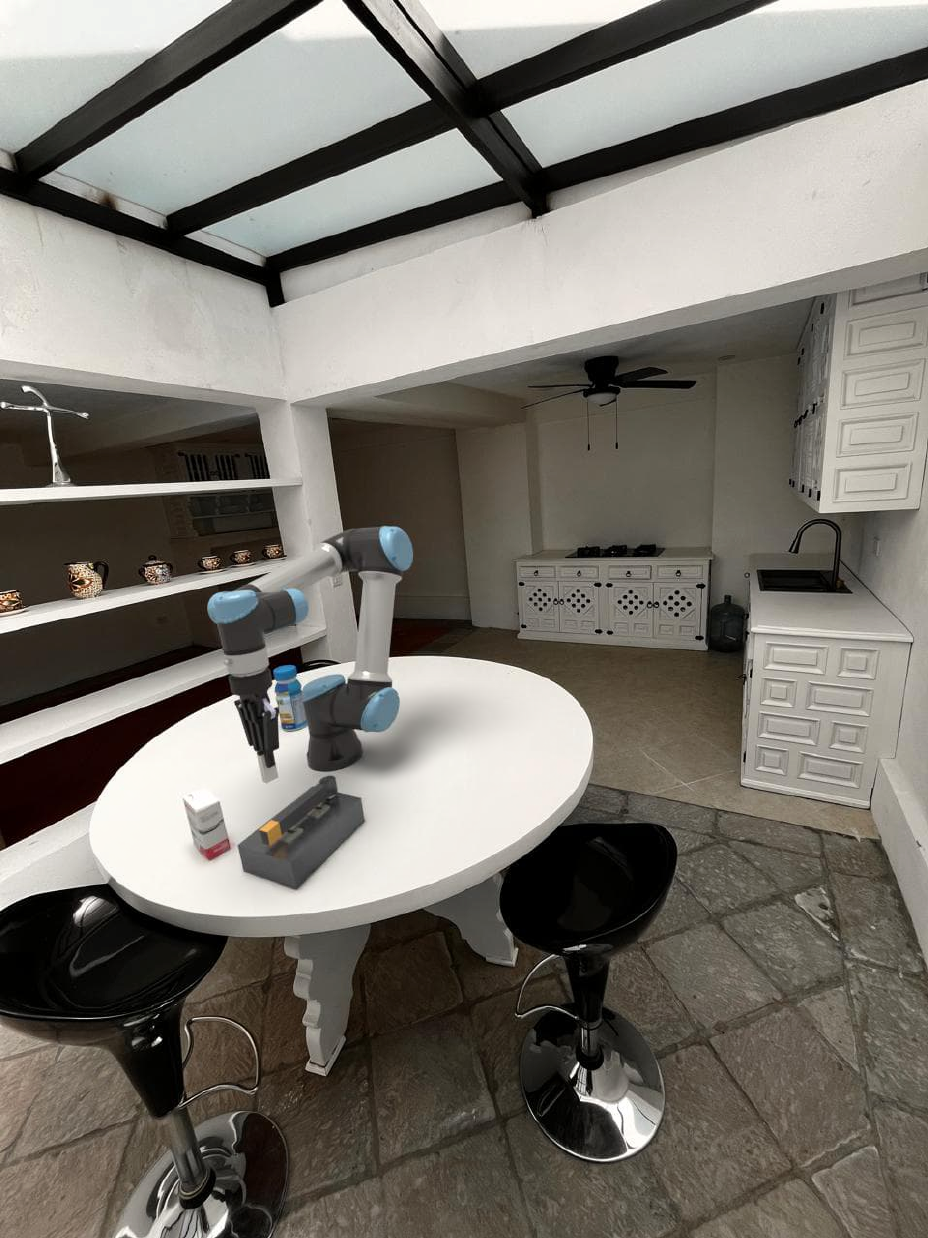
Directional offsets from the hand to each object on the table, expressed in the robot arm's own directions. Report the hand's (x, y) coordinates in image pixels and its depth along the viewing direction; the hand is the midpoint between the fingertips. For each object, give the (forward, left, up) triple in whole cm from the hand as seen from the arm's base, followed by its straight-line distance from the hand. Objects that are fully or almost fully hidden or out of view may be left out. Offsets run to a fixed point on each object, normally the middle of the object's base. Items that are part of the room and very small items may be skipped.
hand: (270, 779), depth 103 cm
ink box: (-15, -6, -16) cm, 22 cm away
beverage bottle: (-41, +45, -16) cm, 62 cm away
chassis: (+5, +1, -15) cm, 16 cm away
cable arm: (+6, +2, -8) cm, 10 cm away
